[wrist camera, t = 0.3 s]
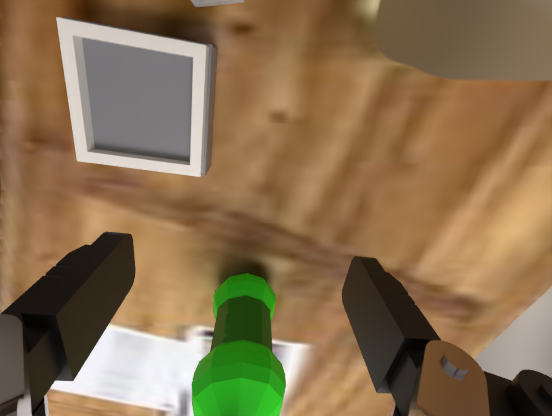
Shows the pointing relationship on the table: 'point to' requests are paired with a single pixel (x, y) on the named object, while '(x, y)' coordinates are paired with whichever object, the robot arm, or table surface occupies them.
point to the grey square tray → (139, 97)
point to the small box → (213, 2)
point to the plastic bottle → (240, 354)
